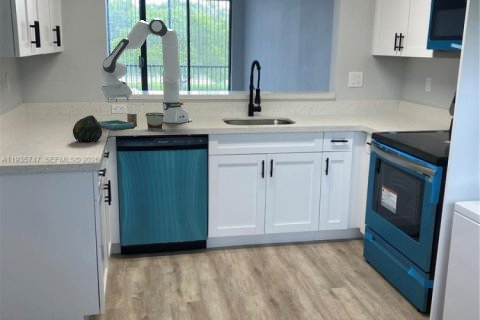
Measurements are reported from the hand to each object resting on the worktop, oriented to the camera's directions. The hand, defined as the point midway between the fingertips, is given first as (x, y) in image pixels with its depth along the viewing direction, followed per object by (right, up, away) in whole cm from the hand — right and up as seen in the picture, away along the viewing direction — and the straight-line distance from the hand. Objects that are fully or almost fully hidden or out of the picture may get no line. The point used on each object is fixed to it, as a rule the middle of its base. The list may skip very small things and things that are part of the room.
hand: (122, 101), depth 313 cm
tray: (-1, -18, -13) cm, 22 cm away
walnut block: (+8, -17, -4) cm, 19 cm away
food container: (+26, -19, -13) cm, 35 cm away
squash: (-3, -30, -61) cm, 68 cm away
